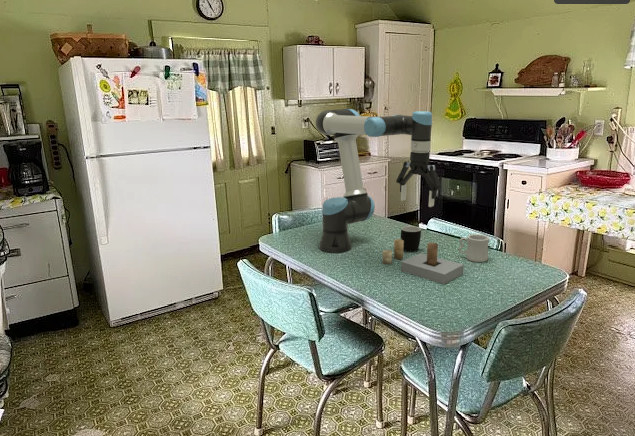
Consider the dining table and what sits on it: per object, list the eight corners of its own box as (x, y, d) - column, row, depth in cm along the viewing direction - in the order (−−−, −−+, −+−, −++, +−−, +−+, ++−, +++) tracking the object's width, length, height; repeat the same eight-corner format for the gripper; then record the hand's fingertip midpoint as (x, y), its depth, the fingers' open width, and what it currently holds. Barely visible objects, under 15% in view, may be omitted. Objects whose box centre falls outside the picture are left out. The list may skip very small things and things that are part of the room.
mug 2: (488, 257, 200) (490, 235, 198) (486, 263, 193) (488, 241, 190) (459, 253, 206) (460, 232, 203) (456, 260, 198) (457, 238, 195)
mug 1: (424, 251, 210) (425, 229, 207) (408, 254, 206) (408, 232, 204) (408, 243, 220) (409, 223, 218) (393, 246, 217) (393, 226, 214)
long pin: (424, 272, 185) (425, 244, 182) (429, 270, 187) (431, 242, 184) (432, 275, 182) (434, 246, 179) (438, 272, 184) (439, 244, 181)
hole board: (400, 270, 187) (401, 261, 186) (420, 262, 196) (420, 253, 195) (444, 284, 173) (444, 274, 172) (463, 274, 182) (463, 264, 181)
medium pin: (392, 257, 202) (392, 240, 200) (397, 255, 205) (398, 238, 203) (399, 260, 199) (400, 242, 197) (405, 257, 202) (405, 240, 200)
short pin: (380, 262, 197) (380, 251, 195) (386, 260, 199) (386, 249, 198) (388, 264, 194) (388, 253, 193) (393, 262, 197) (394, 251, 195)
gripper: (389, 149, 188) (387, 199, 194) (442, 155, 170) (438, 210, 177) (400, 147, 193) (398, 196, 199) (453, 153, 175) (448, 207, 181)
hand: (416, 203), depth 188 cm, fingers open, 13 cm apart
